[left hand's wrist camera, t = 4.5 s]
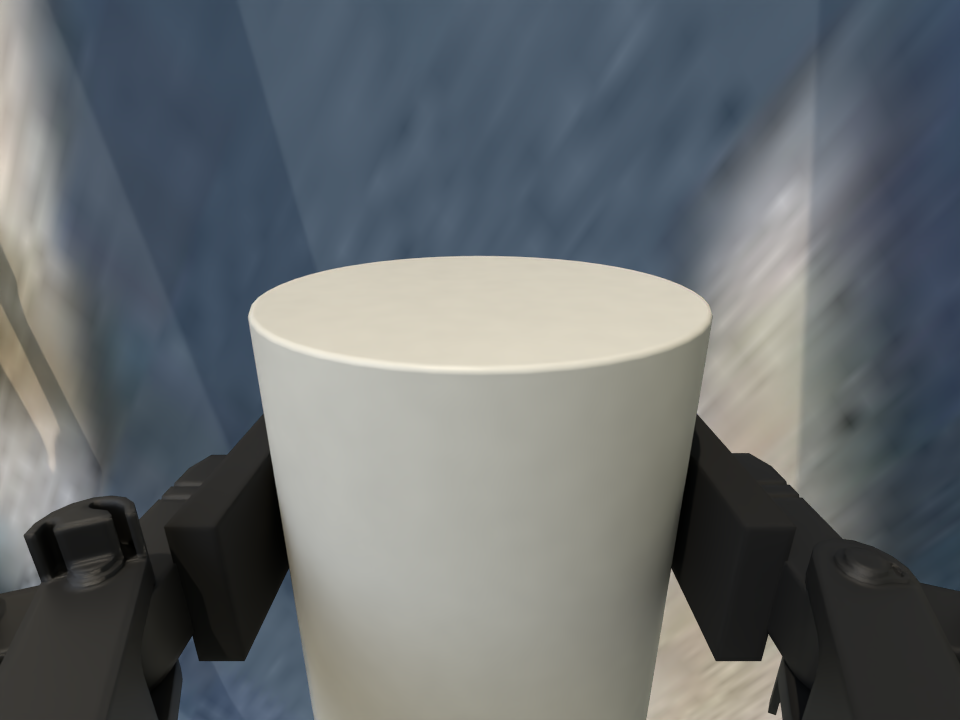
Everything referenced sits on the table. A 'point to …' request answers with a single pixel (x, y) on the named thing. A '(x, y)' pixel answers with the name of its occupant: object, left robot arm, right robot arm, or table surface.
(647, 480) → the rod
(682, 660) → the table surface
